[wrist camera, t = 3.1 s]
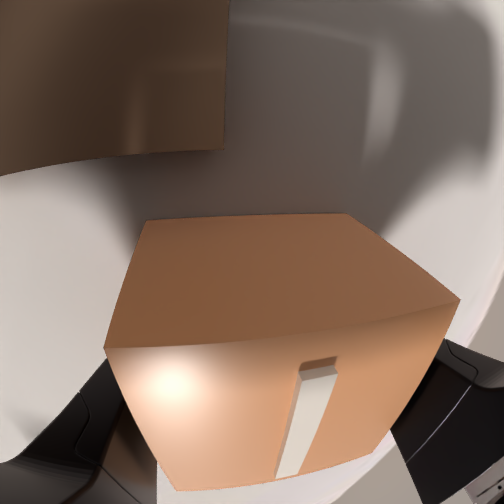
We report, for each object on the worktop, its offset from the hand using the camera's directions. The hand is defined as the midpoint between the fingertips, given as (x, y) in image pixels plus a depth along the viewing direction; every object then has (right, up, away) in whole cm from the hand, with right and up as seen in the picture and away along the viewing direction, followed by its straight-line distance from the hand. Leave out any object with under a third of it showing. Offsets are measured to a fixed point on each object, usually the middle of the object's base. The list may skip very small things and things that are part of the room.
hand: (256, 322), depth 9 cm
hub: (0, 0, +1) cm, 1 cm away
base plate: (-9, +12, -6) cm, 16 cm away
